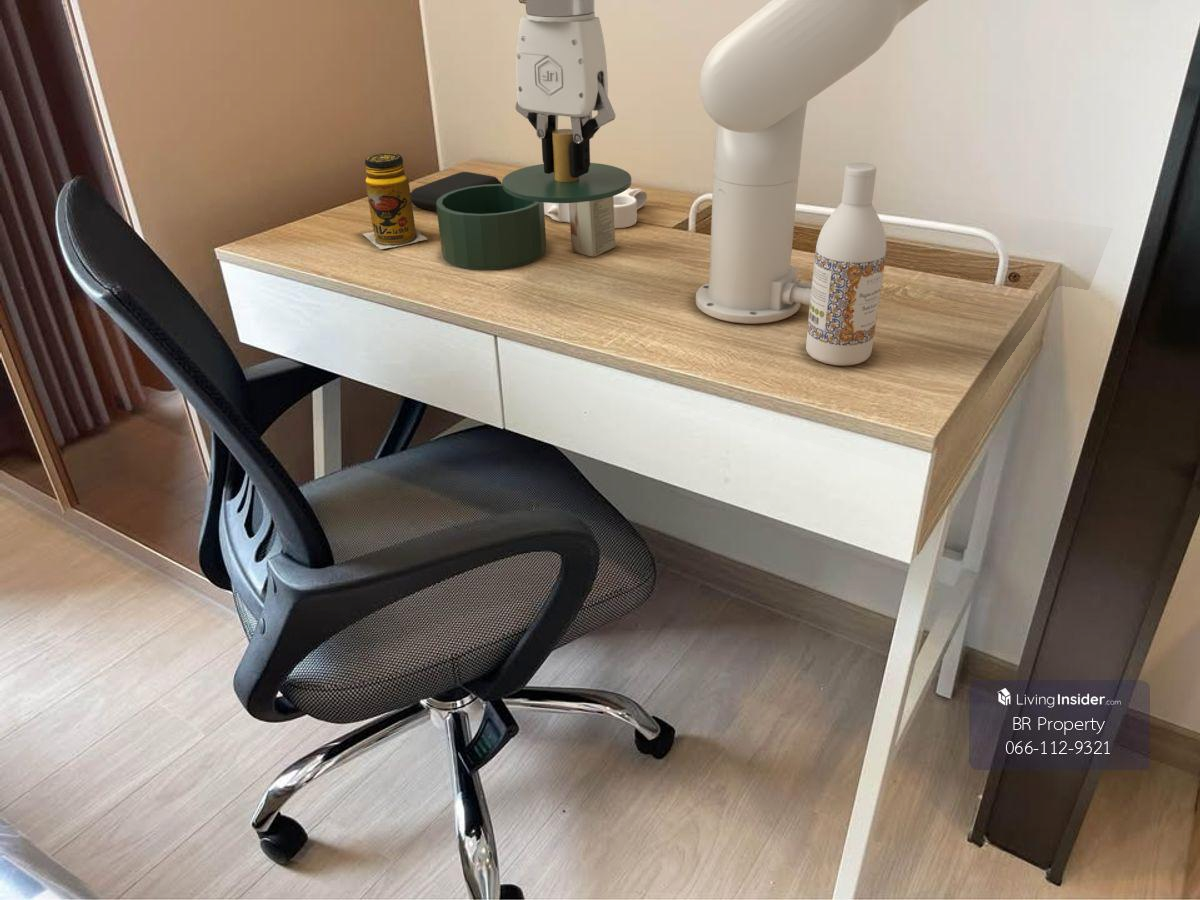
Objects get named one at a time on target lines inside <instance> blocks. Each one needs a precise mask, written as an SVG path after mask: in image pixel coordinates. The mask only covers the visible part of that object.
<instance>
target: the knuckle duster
mask: <svg viewBox="0 0 1200 900" xmlns="http://www.w3.org/2000/svg"><path fill="white" fill-rule="evenodd" d="M613 200H614V224H615V229H625V228H630V227H632V226H634V225H636V223H637V222H638V210H639V209H640V208H642V207H643V206H644V205H645V203H646V202H647V200H648V194H647V192H646V191H644V190H643V189H641V188H630V187H629V188H628V189H627V190H626V191H624V192H622V193H620V194H618V195H615V196H613ZM544 216H548V217H550V218H551V220H553V221H555V222H559V223H569V224H570V215H569V203H545V202H544Z"/></svg>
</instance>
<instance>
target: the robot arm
mask: <svg viewBox="0 0 1200 900" xmlns="http://www.w3.org/2000/svg"><path fill="white" fill-rule="evenodd" d="M928 1H929V0H770V1H769V2H768V3H766V4H765V5H764V6H763V7H761V8H760V9H758V10H757V11H756V12H755V13H754V14H752V15H751V16H750V17H748V18H747V19H746V20H744V21H743V22H742V23H741V24H740V25H738V26H737V27H736V28H734V29H733V30H732V31H730V32H729V33H727V34H726V35H725V36H724V37H723V38H721V39H720V40H718V42H717V43H716V44H715V45H714V46H713V47H712V48H711V50H710V51H709V52H708V54H707V56H706V58H705V60H704V62H703V65H702V67H701V71H700V75H699V95H700V100H701V102H702V105H703V107H704V111H706V113H707V115H708V116H709V118H710V119H712V121H714V122H715V123H716V130H715V141H714V155H713V174H712V197H711V221H710V222H711V223H710V246H709V247H710V248H709V249H710V250H709V271H708V272H709V273H708V274H709V275H708V281H707V282H706V283H704V284H702V285H701V286H699V288H698V289H697V290H696V292H695V305H696V307H697V308H698V309H699V310H700V311H701V312H702V313H704V314H705V315H707V316H709V317H711V318H713V319H717V320H720V321H724V322H731V323H735V324H747V325H749V324H751V325H752V324H754V325H755V324H767V323H773V322H778V321H782V320H785V319H787V318H789V317H792V316H793V315H794V314H796V313H797V312H798V311H799V310H800V308H801V305H804V306H809V307H810V299H811V289H812V282H809V281H808V282H806V281H801V279H800V278H798V277H799V276H798V275H799V267H797V266H792V255H793V244H794V243H793V242H794V231H795V221H796V208H797V197H798V187H799V177H800V171H801V160H802V158H801V157H802V151H803V150H802V149H803V140H804V130H805V122H806V115H807V107H808V102H809V101H811V100H812V99H813V98H815V97H816V96H818V95H819V94H821V93H823V92H824V91H825V90H826V89H828V88H830V87H831V86H833V84H835V83H837V82H838V81H839V80H841V79H842V78H844V77H845V76H847V75H848V74H850V73H851V72H853V71H854V70H856V68H858V67H860V66H861V65H862V64H863V63H865V62H866V61H867V60H868V59H870V58H871V57H872V56H874V54H875V53H877V52H878V50H880V49H881V48H883V46H884V45H885V43H886V42H887V41H888V40H889V38H890V37H891V35H892V34H893V32H894V30H895V28H896V27H897V25H898V24H899V23H900V22H901V21H903V20H904V19H906V17H908V16H909V15H910V14H912V13H913V12H914V11H916V10H917V9H918V8H920V7H921V6H923V5H924V4H925V3H926V2H928ZM518 2H519V3H520V4H524V5H525V13H526V14H525V16H521V17H520V18H519V19H520V20H519V25H518V30H517V31H518V32H517V39H516V55H515V59H516V60H515V84H516V85H515V87H516V100H517V101H516V104H515V111H516V112H517V113H518V114H520V115H521V116H522V117H524V118H525V119H527V121H528V122H529V123H530V125H531V126H532V127H533V128H534V130H535V131H536V136H537V138H538V139H540V140H541V154H542V155H541V156H542V157H541V158H542V164H544V172H545V173H547V174H550V173H552V172H554V160H553V138H552V132H553V131H555V130H559V116H560V117H568V118H570V125H571V129H572V134H573V140H574V142H572V143H570V145H569V157H570V175H571V177H574V178H577V177H579V176H581V175H584V174H586V173H588V171H589V166H590V163H591V147H590V146H591V143H590V140H591V139H593V138H594V136H595V134H596V133H597V132H598V131H599V130H600V129H601V127H603V126H605V125H607V124H609V123H611V122H613V121H614V120H615V119H616V112H615V109H614V108H613V106H612V104H611V102H610V101H611V100H610V99H609V82H608V81H609V78H608V77H609V76H608V64H607V54H606V47H605V46H606V45H605V39H604V33H603V29H602V24H601V19H600V17H599V16H596V15H595V13H596V12H595V0H518ZM595 111H596V112H597V114H596V116H593V112H595Z"/></svg>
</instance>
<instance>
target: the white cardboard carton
mask: <svg viewBox="0 0 1200 900" xmlns="http://www.w3.org/2000/svg"><path fill="white" fill-rule="evenodd" d="M569 215H570V223H569V227H570V228H569V229H570V242H571V252H574V253H577V254H580V255H584V256H588V257H592V258H594V257H597V256H598V255H601V254H604V253H606V252H607V251H609V250H611V249H613V248H615V247H616V228H615V224H614V200H613V196H612V197H608V198H604V199H599V200H594V201H586V202H578V203H569Z"/></svg>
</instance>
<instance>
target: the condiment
mask: <svg viewBox="0 0 1200 900" xmlns="http://www.w3.org/2000/svg"><path fill="white" fill-rule="evenodd" d="M364 165H365V173H366V174H367V176H366V178H365V188H366V195H367V199H368V200H367V202H368V207H369V213H370V220H371V225H372V231H371V232H364V233H361V235H363V236H364V237H365V238H366V239H367V240H369V241H370V243H371V244H373V245H374V246H375V247H376V248H378V249H379V250H384V249H390V248H396V247H402V246H405V245H410V244H415V243H418V242H423V241H426V240H428V238H427V237H426V236H424V235H423V234H422V233H420V232H419V231H418V230H417V229H416V224H415V216H414V210H413V203H412V202H411V195H410V193H411V189H410V182H409V181H410V180H409V176H408V174H407V173H406V172H405V166H404V159H403V156H402V155H401V154H399V153H393V152H389V153H388V152H384V153H383V152H382V153H376V154H372V155H370V156H367V157H366V158H365V160H364Z"/></svg>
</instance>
